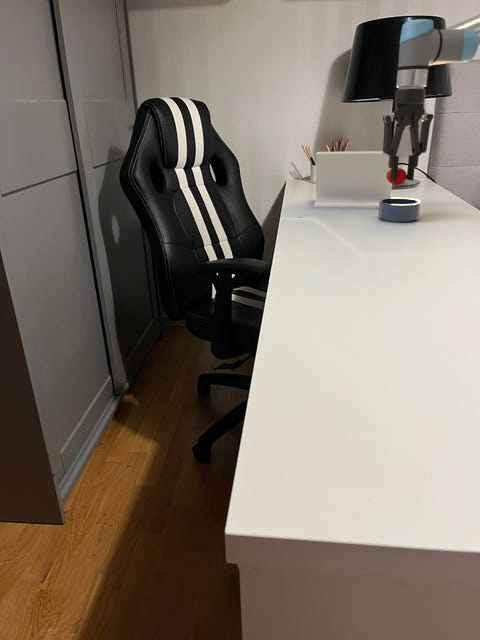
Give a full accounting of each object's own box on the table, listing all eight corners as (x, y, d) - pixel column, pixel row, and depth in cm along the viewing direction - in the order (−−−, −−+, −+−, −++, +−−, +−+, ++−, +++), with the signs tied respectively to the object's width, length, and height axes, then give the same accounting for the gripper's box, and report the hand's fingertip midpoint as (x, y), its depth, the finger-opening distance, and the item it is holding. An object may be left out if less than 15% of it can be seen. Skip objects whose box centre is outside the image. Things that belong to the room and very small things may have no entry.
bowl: (408, 214, 150) (409, 197, 148) (425, 221, 140) (427, 203, 138) (372, 216, 149) (373, 199, 147) (387, 224, 139) (388, 205, 137)
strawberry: (406, 187, 141) (393, 185, 148) (412, 170, 140) (399, 169, 147) (392, 183, 140) (380, 181, 147) (398, 166, 139) (385, 165, 145)
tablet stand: (392, 208, 159) (398, 151, 152) (313, 207, 164) (315, 152, 157) (388, 198, 175) (393, 147, 169) (316, 197, 180) (318, 148, 173)
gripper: (435, 88, 135) (424, 177, 145) (374, 89, 133) (367, 179, 143) (449, 87, 129) (437, 180, 138) (385, 88, 127) (377, 183, 136)
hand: (401, 179), depth 140 cm, fingers closed on strawberry, 4 cm apart
